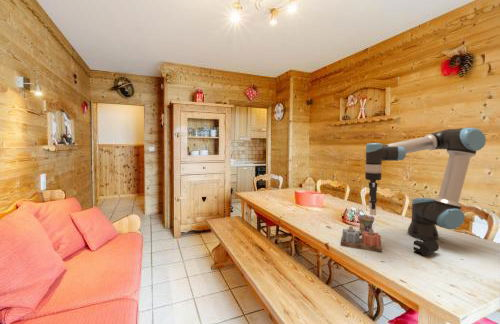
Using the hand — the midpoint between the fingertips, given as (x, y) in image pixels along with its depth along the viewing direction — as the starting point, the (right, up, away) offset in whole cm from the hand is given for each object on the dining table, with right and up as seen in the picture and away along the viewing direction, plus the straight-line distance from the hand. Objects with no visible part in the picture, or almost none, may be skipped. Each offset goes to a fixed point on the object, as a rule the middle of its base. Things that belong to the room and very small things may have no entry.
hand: (372, 211), depth 125 cm
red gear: (0, -18, +1) cm, 18 cm away
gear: (-9, -17, +6) cm, 20 cm away
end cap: (+24, -20, -6) cm, 32 cm away
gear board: (-5, -19, +4) cm, 20 cm away
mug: (+6, -18, +21) cm, 28 cm away
